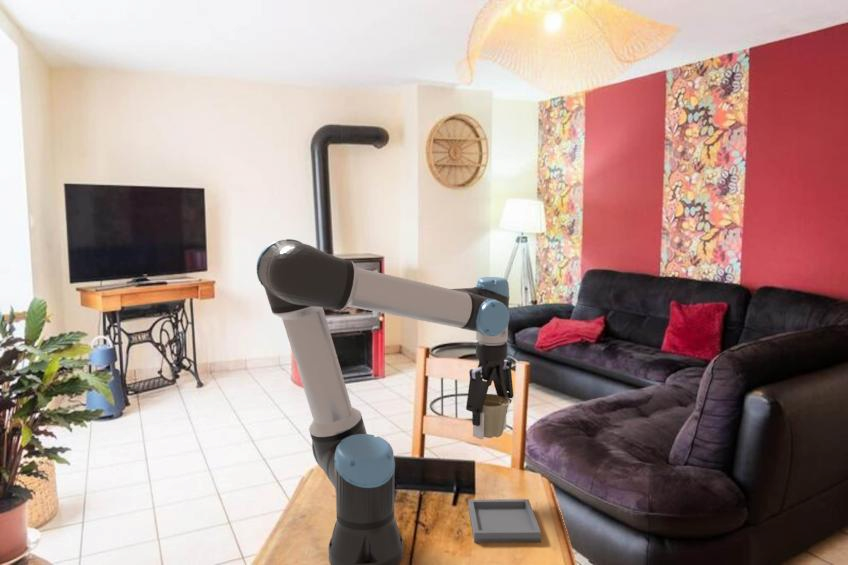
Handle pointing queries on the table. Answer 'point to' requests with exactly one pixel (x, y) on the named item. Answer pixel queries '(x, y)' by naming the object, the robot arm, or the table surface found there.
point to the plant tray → (503, 521)
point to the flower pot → (494, 414)
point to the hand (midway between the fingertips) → (489, 432)
